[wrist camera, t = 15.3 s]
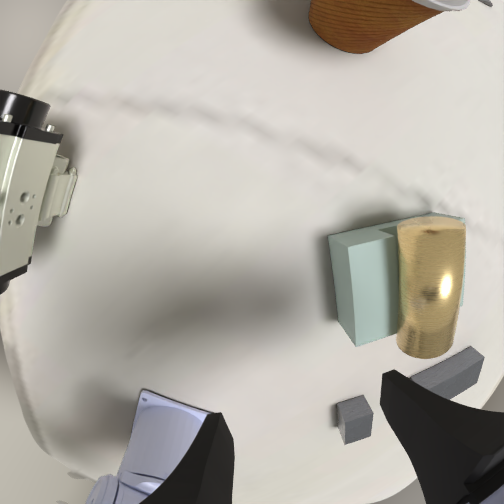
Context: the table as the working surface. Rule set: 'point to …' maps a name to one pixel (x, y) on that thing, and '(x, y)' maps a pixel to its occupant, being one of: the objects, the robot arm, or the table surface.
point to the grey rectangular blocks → (434, 379)
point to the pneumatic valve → (28, 180)
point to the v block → (369, 279)
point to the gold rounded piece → (429, 284)
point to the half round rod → (487, 2)
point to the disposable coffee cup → (372, 20)
